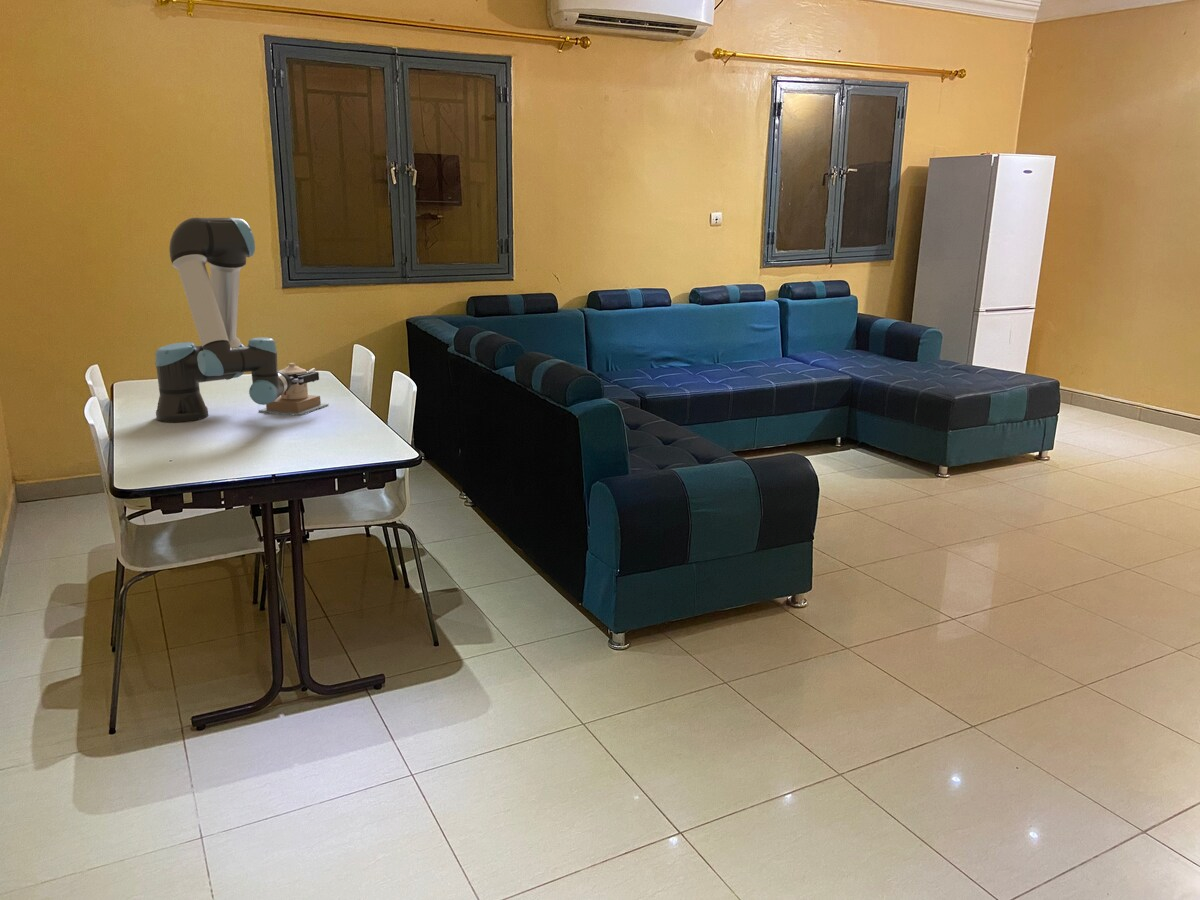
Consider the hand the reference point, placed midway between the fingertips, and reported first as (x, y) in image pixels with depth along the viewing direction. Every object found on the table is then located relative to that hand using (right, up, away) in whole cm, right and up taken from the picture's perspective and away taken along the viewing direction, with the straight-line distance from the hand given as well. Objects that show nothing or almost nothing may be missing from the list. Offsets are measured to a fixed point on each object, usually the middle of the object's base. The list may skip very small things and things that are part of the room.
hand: (293, 372), depth 294 cm
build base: (0, -12, 0) cm, 12 cm away
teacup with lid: (+1, -9, 0) cm, 9 cm away
